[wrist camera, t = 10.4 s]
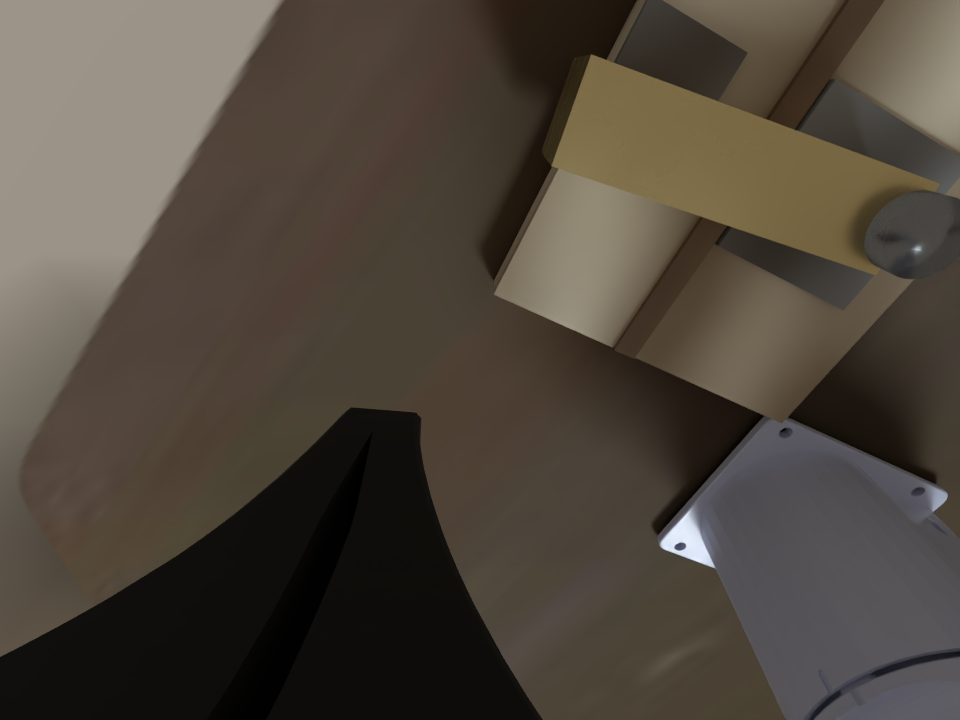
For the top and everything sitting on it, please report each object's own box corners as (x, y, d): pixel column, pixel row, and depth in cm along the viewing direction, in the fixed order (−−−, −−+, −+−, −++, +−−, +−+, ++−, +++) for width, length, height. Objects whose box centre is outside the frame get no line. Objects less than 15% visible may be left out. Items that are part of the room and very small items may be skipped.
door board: (1401, -316, 12) (1520, -366, 10) (766, 405, 21) (785, 428, 19) (1017, -748, 9) (1106, -885, 8) (493, 281, 18) (493, 297, 17)
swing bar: (897, 177, 15) (999, 202, 12) (845, 255, 16) (928, 296, 13) (573, 57, 14) (597, 52, 11) (540, 151, 15) (554, 171, 12)
